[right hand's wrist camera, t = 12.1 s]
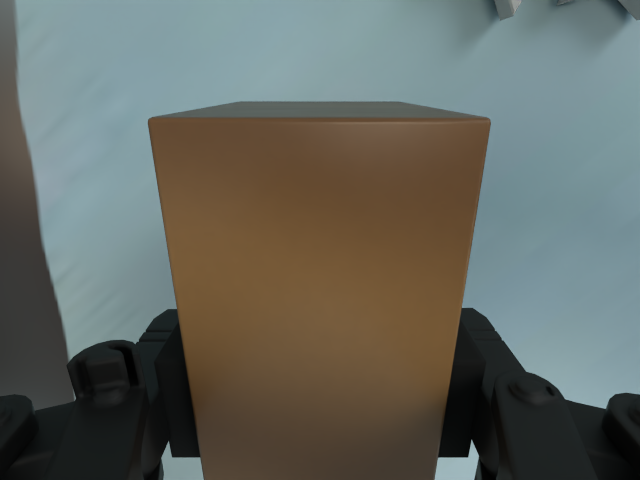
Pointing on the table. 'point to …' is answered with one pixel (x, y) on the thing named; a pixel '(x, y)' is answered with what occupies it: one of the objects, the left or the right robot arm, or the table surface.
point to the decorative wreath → (508, 0)
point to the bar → (319, 280)
